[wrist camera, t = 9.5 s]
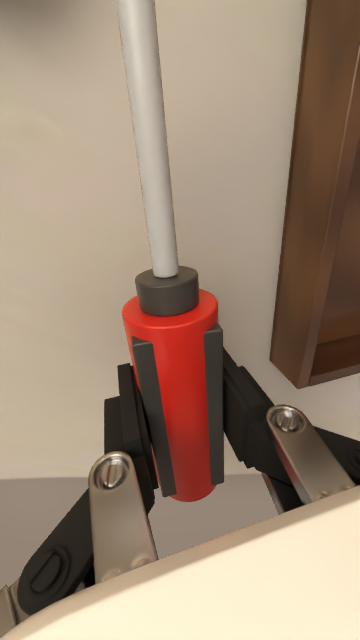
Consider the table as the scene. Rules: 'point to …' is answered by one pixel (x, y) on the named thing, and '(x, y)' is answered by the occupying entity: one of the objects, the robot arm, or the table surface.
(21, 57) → the table surface
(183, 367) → the screwdriver
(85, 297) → the table surface
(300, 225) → the wooden tray
